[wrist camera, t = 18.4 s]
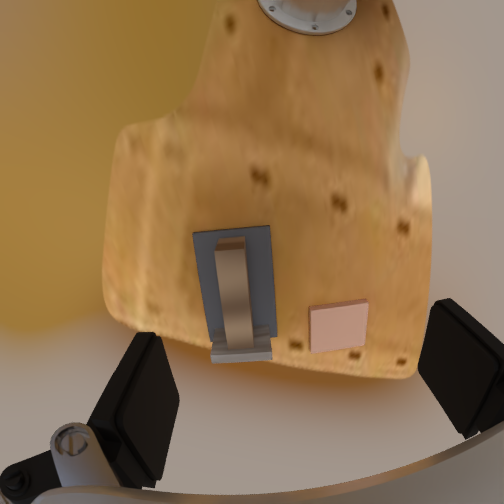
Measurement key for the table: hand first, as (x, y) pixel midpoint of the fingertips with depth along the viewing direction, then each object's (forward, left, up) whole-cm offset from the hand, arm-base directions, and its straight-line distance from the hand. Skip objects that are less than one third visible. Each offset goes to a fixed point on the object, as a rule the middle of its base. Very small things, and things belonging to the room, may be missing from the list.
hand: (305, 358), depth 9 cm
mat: (+9, -4, -26) cm, 28 cm away
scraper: (+8, -4, -26) cm, 27 cm away
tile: (+13, +9, -26) cm, 30 cm away
